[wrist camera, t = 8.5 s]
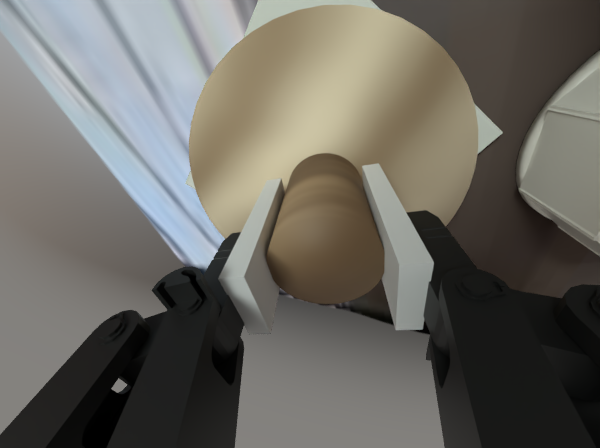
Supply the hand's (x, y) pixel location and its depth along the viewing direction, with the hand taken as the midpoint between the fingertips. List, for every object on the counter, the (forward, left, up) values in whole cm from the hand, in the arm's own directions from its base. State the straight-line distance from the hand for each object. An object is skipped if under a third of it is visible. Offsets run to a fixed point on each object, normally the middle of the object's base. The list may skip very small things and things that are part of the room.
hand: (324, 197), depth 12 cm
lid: (0, 0, -2) cm, 2 cm away
